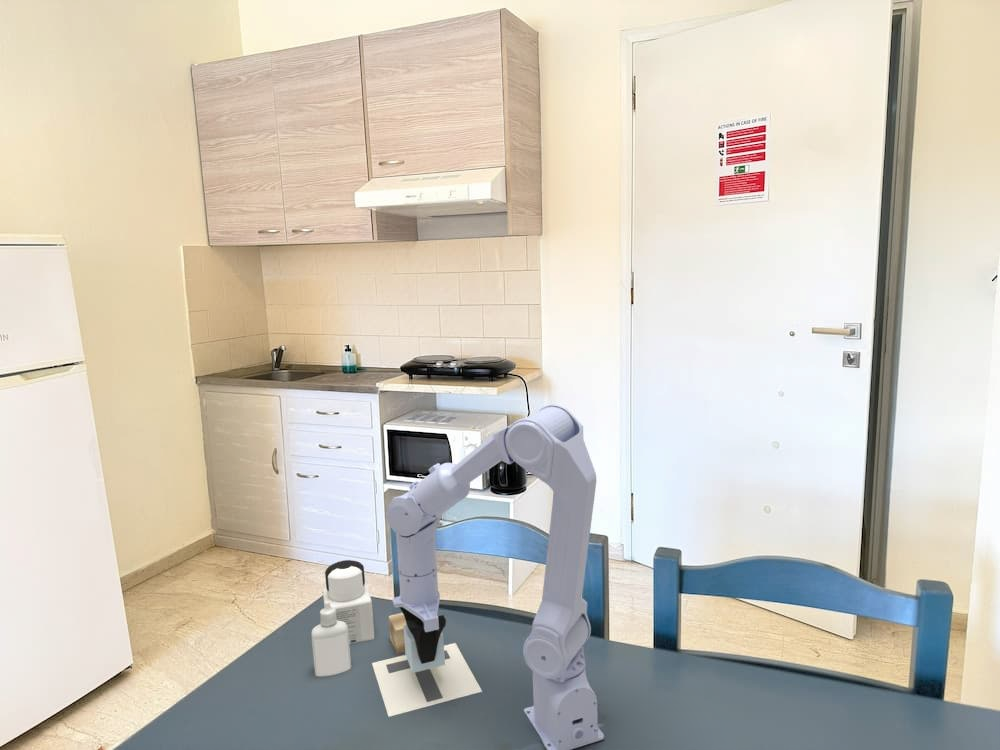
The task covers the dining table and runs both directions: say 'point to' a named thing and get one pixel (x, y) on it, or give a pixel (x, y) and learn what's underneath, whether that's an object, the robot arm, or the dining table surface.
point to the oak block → (397, 632)
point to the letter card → (424, 682)
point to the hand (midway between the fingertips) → (423, 651)
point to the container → (350, 598)
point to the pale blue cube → (413, 654)
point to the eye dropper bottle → (330, 644)
